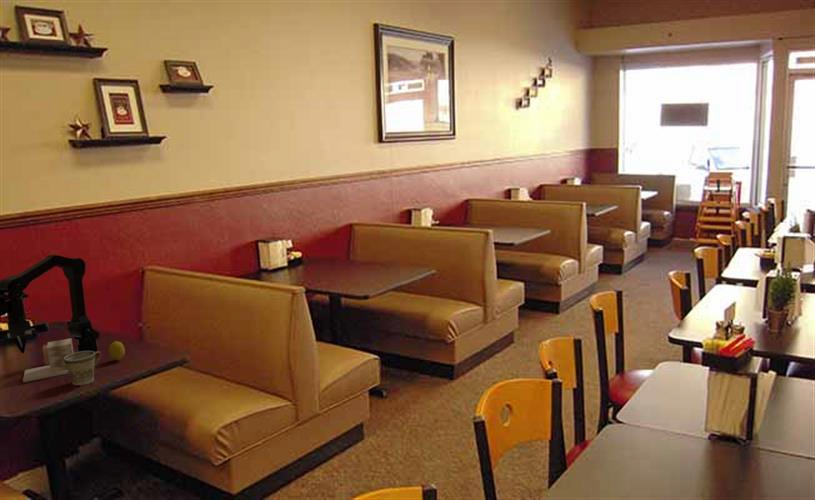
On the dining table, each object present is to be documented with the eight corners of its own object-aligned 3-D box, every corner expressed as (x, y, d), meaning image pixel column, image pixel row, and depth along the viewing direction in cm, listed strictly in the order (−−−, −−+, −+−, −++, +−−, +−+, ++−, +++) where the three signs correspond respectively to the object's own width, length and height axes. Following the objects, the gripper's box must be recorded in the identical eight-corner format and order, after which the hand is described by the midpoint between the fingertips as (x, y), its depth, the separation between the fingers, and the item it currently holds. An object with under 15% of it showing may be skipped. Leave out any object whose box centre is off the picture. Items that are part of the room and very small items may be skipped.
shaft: (74, 355, 251) (71, 340, 250) (73, 359, 245) (71, 344, 244) (45, 360, 247) (43, 345, 245) (45, 364, 241) (42, 349, 240)
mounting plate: (78, 362, 254) (78, 359, 254) (78, 371, 244) (78, 368, 244) (25, 372, 247) (25, 369, 247) (23, 382, 236) (22, 379, 236)
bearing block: (75, 361, 252) (71, 338, 250) (75, 367, 245) (71, 343, 243) (51, 366, 249) (47, 342, 247) (51, 372, 242) (46, 348, 240)
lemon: (129, 358, 255) (126, 339, 253) (117, 363, 250) (114, 343, 248) (119, 357, 257) (116, 338, 255) (107, 362, 252) (104, 342, 251)
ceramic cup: (78, 389, 226) (74, 362, 224) (62, 385, 231) (57, 358, 229) (112, 376, 236) (108, 350, 234) (96, 372, 242) (92, 346, 240)
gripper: (-17, 321, 226) (-10, 364, 229) (43, 312, 234) (50, 353, 237) (-13, 314, 236) (-6, 355, 239) (45, 305, 244) (51, 345, 247)
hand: (23, 352), depth 240 cm, fingers closed
